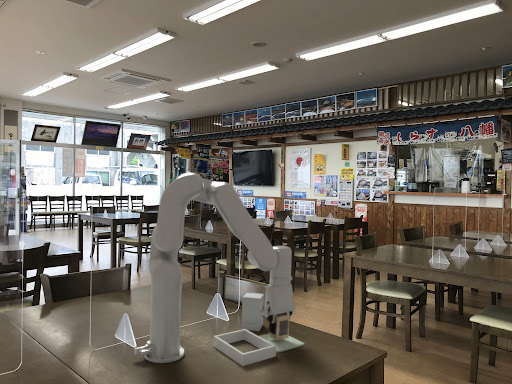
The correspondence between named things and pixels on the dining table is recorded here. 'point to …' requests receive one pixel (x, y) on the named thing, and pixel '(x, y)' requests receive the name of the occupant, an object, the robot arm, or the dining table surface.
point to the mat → (283, 342)
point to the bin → (243, 359)
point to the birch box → (281, 327)
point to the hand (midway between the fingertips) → (278, 331)
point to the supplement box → (252, 311)
